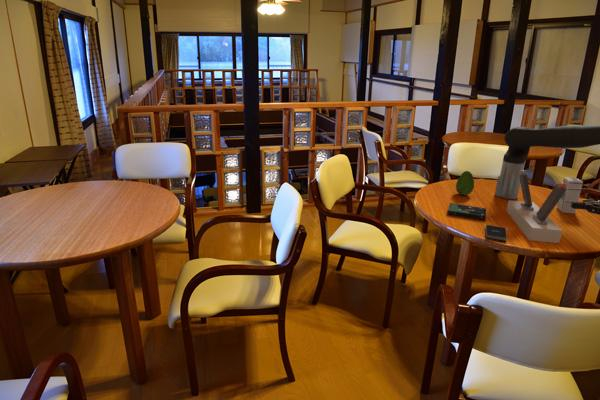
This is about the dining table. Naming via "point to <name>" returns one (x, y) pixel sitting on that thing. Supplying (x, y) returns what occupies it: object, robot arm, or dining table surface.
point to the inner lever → (525, 188)
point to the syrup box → (570, 194)
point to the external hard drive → (495, 233)
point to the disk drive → (467, 211)
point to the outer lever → (551, 201)
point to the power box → (533, 222)
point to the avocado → (465, 183)
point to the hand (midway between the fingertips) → (572, 204)
